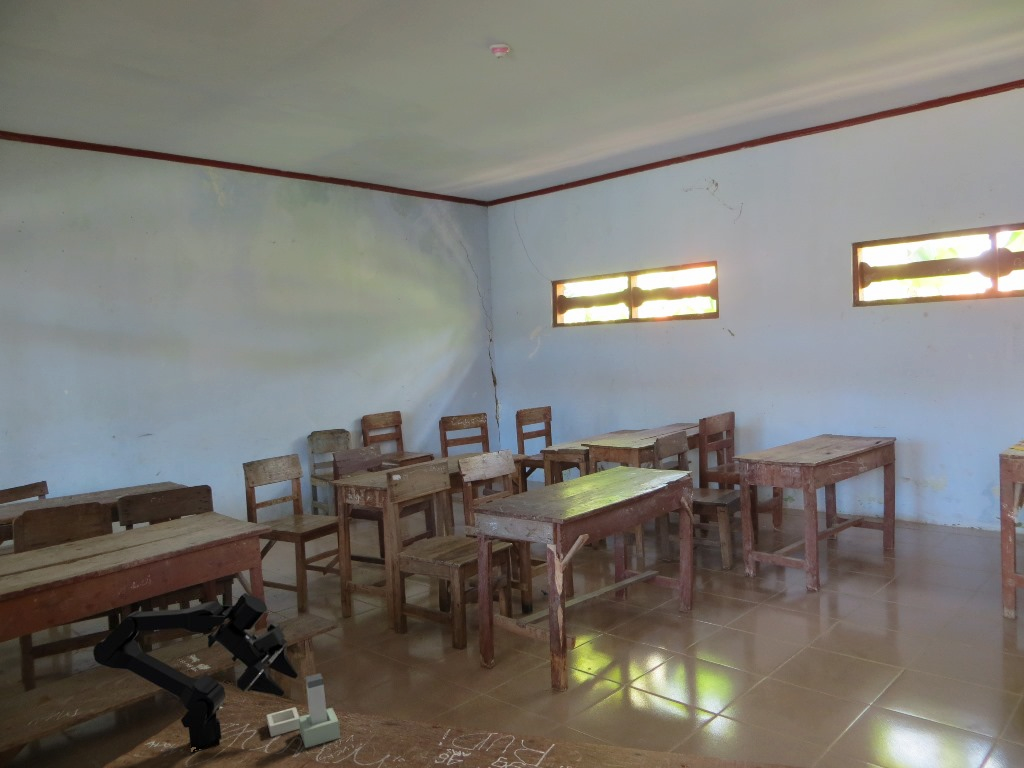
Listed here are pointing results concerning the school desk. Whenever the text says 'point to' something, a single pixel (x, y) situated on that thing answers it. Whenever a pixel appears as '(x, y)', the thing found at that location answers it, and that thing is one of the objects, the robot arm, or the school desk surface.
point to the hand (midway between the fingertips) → (290, 685)
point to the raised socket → (319, 729)
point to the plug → (316, 699)
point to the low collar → (283, 721)
